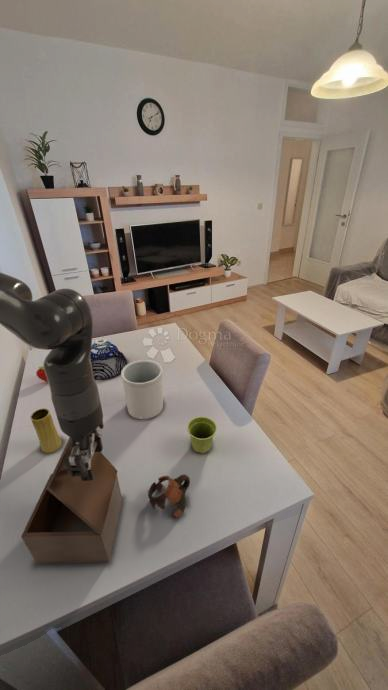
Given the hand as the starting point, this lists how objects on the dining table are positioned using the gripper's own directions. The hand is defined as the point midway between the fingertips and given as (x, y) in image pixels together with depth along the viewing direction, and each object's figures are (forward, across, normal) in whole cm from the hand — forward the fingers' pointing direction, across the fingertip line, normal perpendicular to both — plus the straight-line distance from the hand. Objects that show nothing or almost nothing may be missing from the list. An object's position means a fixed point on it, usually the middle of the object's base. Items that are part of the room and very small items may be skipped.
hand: (93, 463), depth 57 cm
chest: (+25, 0, -6) cm, 26 cm away
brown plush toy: (+25, -7, +16) cm, 30 cm away
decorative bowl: (+26, -72, -19) cm, 79 cm away
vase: (+26, -26, -25) cm, 45 cm away
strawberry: (+26, -61, -41) cm, 78 cm away
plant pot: (+25, -25, +25) cm, 43 cm away
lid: (+5, 0, -2) cm, 5 cm away
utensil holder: (+25, -44, +4) cm, 51 cm away
